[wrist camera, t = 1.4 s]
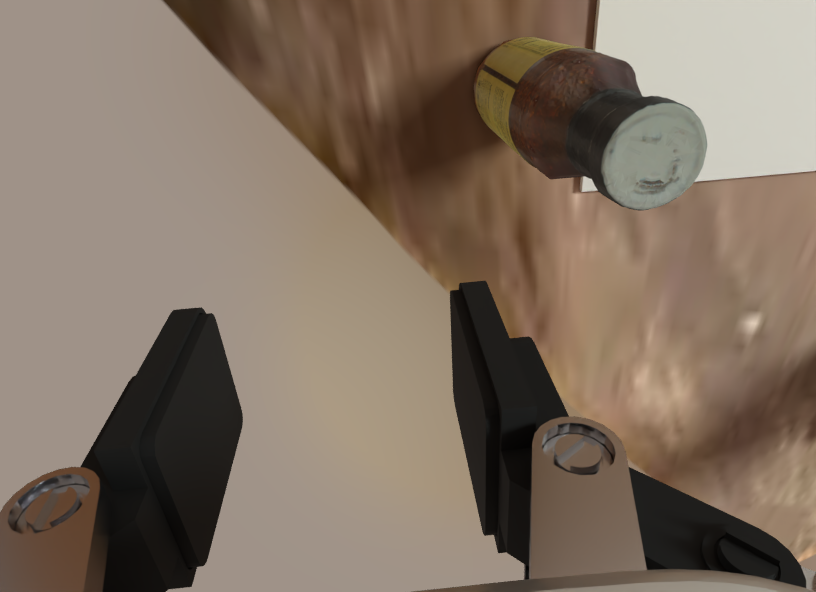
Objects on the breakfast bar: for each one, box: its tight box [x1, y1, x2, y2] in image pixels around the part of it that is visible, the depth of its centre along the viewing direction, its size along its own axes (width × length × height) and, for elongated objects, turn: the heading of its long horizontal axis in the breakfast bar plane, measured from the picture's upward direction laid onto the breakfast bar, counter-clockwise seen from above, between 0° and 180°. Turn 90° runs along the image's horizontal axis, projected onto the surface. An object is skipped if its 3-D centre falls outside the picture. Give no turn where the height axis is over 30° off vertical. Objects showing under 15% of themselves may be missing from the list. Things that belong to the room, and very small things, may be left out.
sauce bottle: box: [474, 37, 707, 210], centre depth 29 cm, size 7×6×20 cm
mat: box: [580, 0, 816, 192], centre depth 38 cm, size 16×20×1 cm
